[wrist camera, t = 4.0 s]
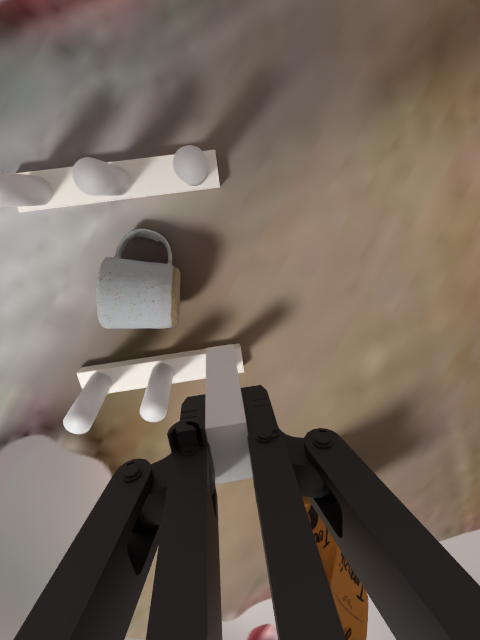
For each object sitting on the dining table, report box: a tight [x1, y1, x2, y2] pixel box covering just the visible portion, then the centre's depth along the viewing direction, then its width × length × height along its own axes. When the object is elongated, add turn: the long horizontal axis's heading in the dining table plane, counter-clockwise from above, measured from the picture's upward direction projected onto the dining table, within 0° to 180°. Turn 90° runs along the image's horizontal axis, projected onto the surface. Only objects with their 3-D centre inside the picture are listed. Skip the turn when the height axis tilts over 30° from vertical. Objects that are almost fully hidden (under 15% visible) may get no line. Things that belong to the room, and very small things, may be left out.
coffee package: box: [302, 496, 368, 640], centre depth 43 cm, size 10×12×22 cm
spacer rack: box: [0, 145, 244, 434], centre depth 34 cm, size 21×27×10 cm
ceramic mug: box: [96, 229, 181, 329], centre depth 35 cm, size 11×8×8 cm
